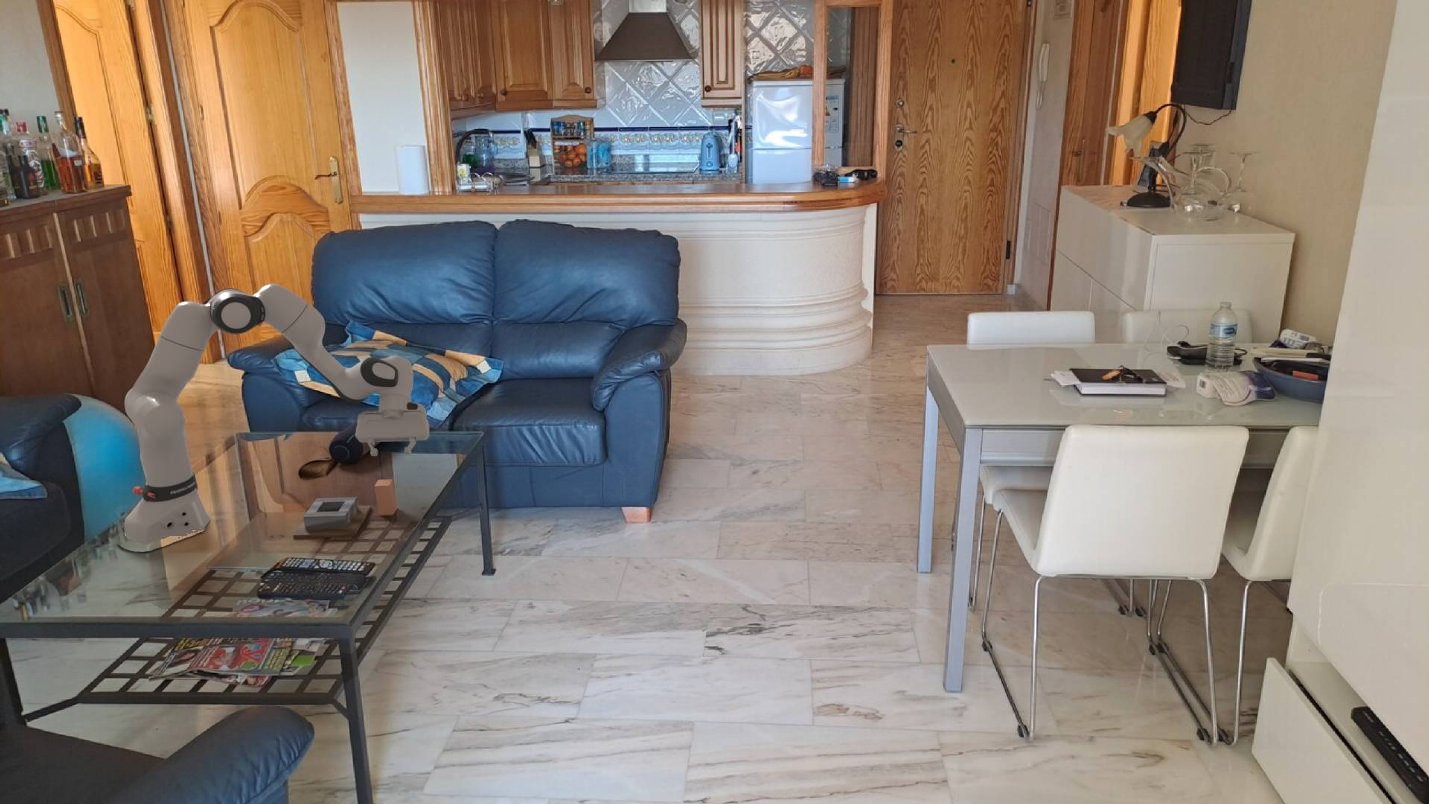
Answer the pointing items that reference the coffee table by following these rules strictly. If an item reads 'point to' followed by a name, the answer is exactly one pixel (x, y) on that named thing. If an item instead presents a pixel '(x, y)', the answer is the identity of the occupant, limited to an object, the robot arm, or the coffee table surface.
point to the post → (385, 497)
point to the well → (332, 518)
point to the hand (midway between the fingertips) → (390, 454)
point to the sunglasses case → (317, 464)
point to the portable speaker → (348, 446)
